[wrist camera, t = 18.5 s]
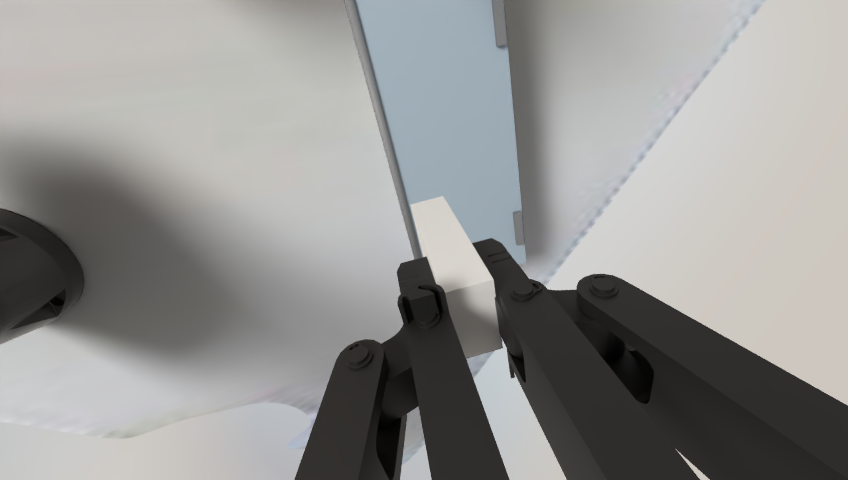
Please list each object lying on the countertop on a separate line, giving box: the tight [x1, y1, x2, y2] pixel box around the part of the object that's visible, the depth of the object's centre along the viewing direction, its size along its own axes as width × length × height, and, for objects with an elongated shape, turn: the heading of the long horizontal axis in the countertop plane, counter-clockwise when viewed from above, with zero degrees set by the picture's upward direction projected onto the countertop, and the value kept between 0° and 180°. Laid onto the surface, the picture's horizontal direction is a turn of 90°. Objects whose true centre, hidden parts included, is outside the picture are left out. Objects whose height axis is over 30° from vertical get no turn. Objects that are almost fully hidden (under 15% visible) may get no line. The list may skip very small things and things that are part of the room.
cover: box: [344, 0, 526, 265], centre depth 34 cm, size 1×30×13 cm
